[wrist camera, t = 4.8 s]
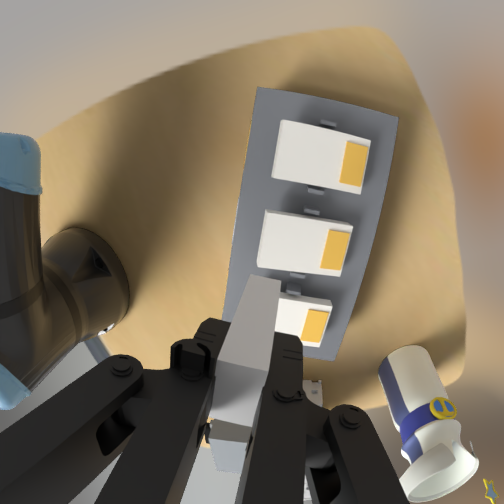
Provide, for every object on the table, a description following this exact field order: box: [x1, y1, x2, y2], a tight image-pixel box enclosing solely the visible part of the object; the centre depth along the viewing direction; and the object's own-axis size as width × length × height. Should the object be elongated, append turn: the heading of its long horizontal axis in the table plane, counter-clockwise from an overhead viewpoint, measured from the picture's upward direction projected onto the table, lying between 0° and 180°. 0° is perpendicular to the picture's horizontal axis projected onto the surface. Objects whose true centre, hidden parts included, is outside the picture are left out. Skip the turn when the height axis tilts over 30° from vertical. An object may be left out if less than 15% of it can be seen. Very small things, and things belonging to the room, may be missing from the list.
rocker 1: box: [271, 119, 371, 195], centre depth 22 cm, size 7×4×1 cm, turn 81°
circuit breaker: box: [204, 380, 323, 501], centre depth 33 cm, size 8×14×15 cm, turn 92°
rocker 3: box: [275, 292, 333, 347], centre depth 27 cm, size 7×4×1 cm, turn 81°
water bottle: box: [378, 345, 499, 504], centre depth 24 cm, size 8×9×25 cm
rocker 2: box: [256, 209, 353, 277], centre depth 24 cm, size 7×4×1 cm, turn 81°
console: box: [222, 87, 399, 361], centre depth 28 cm, size 12×24×8 cm, turn 171°
